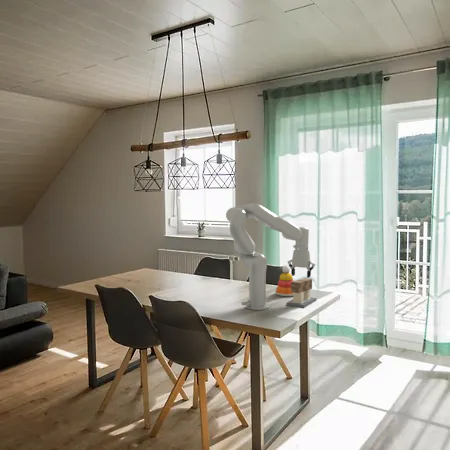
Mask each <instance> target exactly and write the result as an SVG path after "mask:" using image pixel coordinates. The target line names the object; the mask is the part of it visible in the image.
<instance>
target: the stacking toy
mask: <svg viewBox="0 0 450 450" xmlns="http://www.w3.org/2000/svg"><path fill="white" fill-rule="evenodd" d="M290 269H291V268H290V267H289V265H288V264H287V265H284V266H282V269H281V270H282V273H281V274H280V275H279V280H278V281H277V282H278V283H277V287H276V290H274V291H275V292H274V293H275V294H276V295H277V296H281V297H293V292H291V282H293V281H294V276H292V274H291V273H290V272H291V271H290Z"/></svg>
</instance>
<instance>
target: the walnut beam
mask: <svg viewBox="0 0 450 450" xmlns="http://www.w3.org/2000/svg"><path fill="white" fill-rule="evenodd" d="M312 289H313V279H312V278H307V277H305V278H301V279H298V280H293V282H291V292H294V293H301V292H304V291H307V290H310V291H311V290H312Z"/></svg>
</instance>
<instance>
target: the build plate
mask: <svg viewBox="0 0 450 450" xmlns="http://www.w3.org/2000/svg"><path fill="white" fill-rule="evenodd" d="M316 301H317V297H312V296H311V289H310V290H307V291H304V292H301V293H294V292H293V296H292V299H291V300H289V301H287V302H286V306H290V307H295V308H296V307H297V308H302V309H303V308H306V307H307V306H309V305H312V303H315V302H316Z"/></svg>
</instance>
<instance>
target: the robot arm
mask: <svg viewBox="0 0 450 450" xmlns="http://www.w3.org/2000/svg"><path fill="white" fill-rule="evenodd" d="M225 217H226V219H227V221H228V222H230V223H229V233H230V235H231V237H232V239H233V240H234V242H233V248H234V250H235V252H236V254H237V255H238V257H239V258H240V260H241V261H242V263H244V265H245V266H246V267H248V268H250V270H249V275H248V281H249V282H248V287H249V288H248V291H249V293H248V294H249V295H248V296H249V297H248V299H247V300H246V301H241V306H246V308H247V309H249V310H252V311H264V310H267V309H269V304H267V302H266V301H267V296H266V295H267V291H266V289H267V288H266V287H267V285H266V282H267V280H266V277H267V266H268V259H267V258H266V256H265V255H264V254H263V253H261V252H257V251H255V250H256V247H257V246H256V244H255V242H254V240H253V239H252V237H251V236H250V234H249V233H248V231H247V230H246V227H245V223H246V220H247V219H254V220H256V221H258V222H259V223H260V224H262V225H264V226H265V227H267V228H268V229H270V230H273V231H277V232H280V233H281V235H282V237H283V238H284V239H285V240H291V241H295V244H294V245H293V246H292V247H293V248H294V249H293V251H292V252H293V253H292V259H290V260H288V261H287V265H288V266H289V268H290V269H291V271H290V272H291V273H290V274H291V275H292V277H294V276H295V275H296V268H304V269H306V270H307V272H306V278H307V279H310V278H311V275H312V270H313V269H314V268H315V266H316V263H315V262H313V261H312V260H311V255H310V250H309V238H310V237H309V231H310V230H309V228H308V227H306V226H297V225H295V224H293V223H291V222H290V221H288V220H286V219H284V218H283V217H281V216H280V215H277V214H276V213H274V212H272V211H270V210H269V209H268V208H267V207H264V206H263V205H261V204H259V203H247V204H243V205H238V206H234V207H233V206H232V207H230V208H228V209H227V211H226V213H225Z"/></svg>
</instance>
